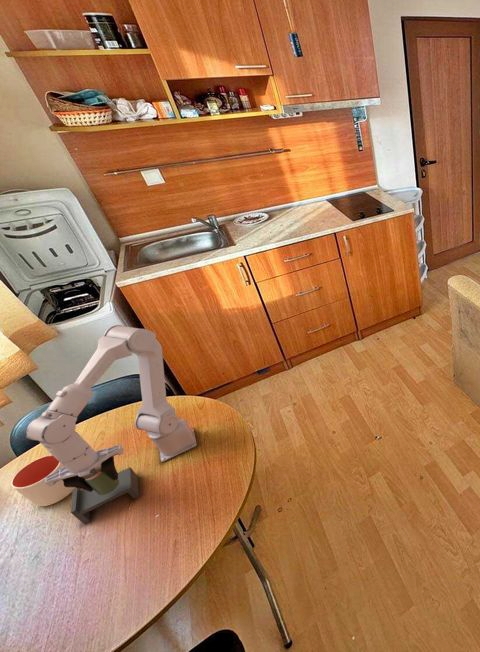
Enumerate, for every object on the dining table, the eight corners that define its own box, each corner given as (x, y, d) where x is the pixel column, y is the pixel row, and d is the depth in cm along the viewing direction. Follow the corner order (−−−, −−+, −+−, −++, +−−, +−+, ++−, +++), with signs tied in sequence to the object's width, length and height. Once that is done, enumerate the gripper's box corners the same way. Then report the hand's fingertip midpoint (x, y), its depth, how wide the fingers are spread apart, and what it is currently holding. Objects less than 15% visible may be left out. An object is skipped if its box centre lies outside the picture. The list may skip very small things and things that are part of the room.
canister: (119, 475, 103) (102, 457, 99) (120, 488, 100) (102, 470, 96) (97, 485, 101) (79, 467, 96) (97, 499, 98) (78, 481, 93)
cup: (54, 511, 102) (30, 491, 97) (25, 505, 104) (0, 485, 98) (90, 477, 111) (70, 457, 105) (63, 472, 112) (42, 452, 106)
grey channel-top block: (137, 475, 111) (127, 464, 107) (139, 496, 106) (128, 484, 102) (85, 500, 105) (72, 489, 101) (83, 524, 99) (70, 512, 96)
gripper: (30, 481, 86) (66, 511, 93) (110, 446, 93) (138, 477, 101) (34, 460, 90) (68, 490, 98) (110, 428, 98) (136, 459, 105)
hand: (104, 482), depth 99 cm, fingers closed on canister, 4 cm apart
